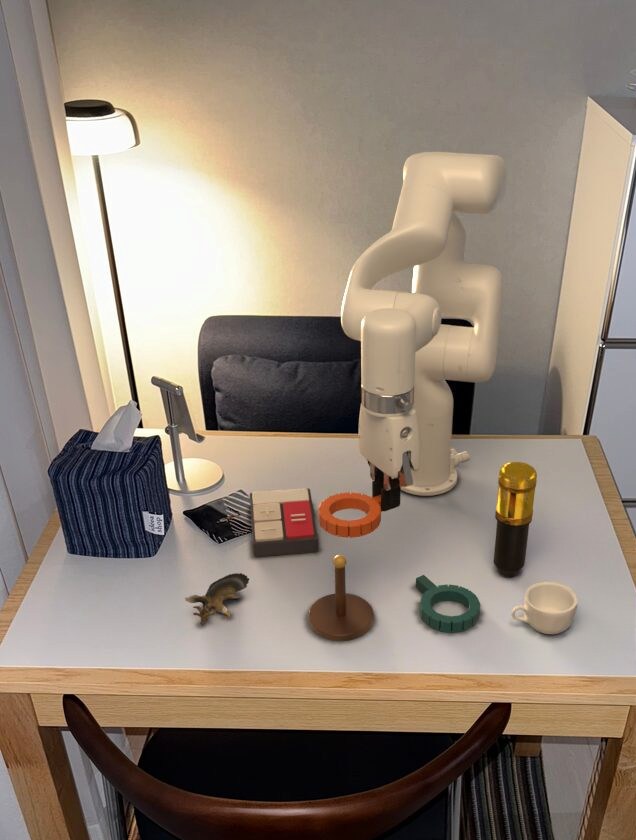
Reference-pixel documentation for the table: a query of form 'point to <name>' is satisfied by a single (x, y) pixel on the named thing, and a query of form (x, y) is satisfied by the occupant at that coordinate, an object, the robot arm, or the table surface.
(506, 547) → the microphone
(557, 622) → the teacup
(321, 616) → the peg stand
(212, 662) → the table surface
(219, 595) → the eagle figurine
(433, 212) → the robot arm
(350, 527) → the orange ring
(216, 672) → the table surface
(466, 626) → the teal ring
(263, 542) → the calculator
